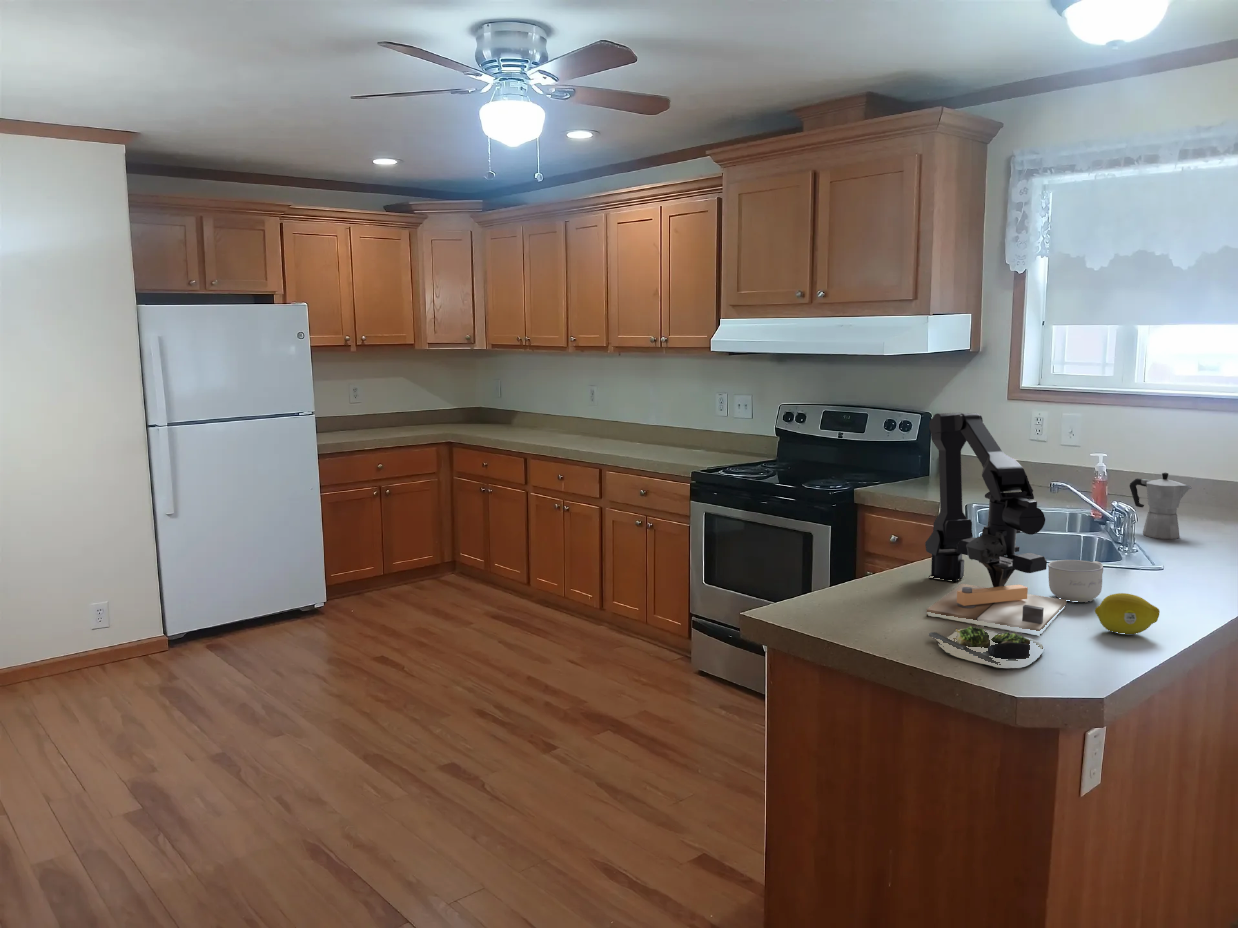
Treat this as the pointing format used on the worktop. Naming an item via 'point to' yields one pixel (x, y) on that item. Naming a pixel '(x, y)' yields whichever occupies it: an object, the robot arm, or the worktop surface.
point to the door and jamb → (1002, 610)
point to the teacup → (1075, 579)
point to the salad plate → (977, 637)
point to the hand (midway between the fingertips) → (997, 592)
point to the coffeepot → (1161, 506)
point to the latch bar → (991, 594)
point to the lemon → (1126, 613)
